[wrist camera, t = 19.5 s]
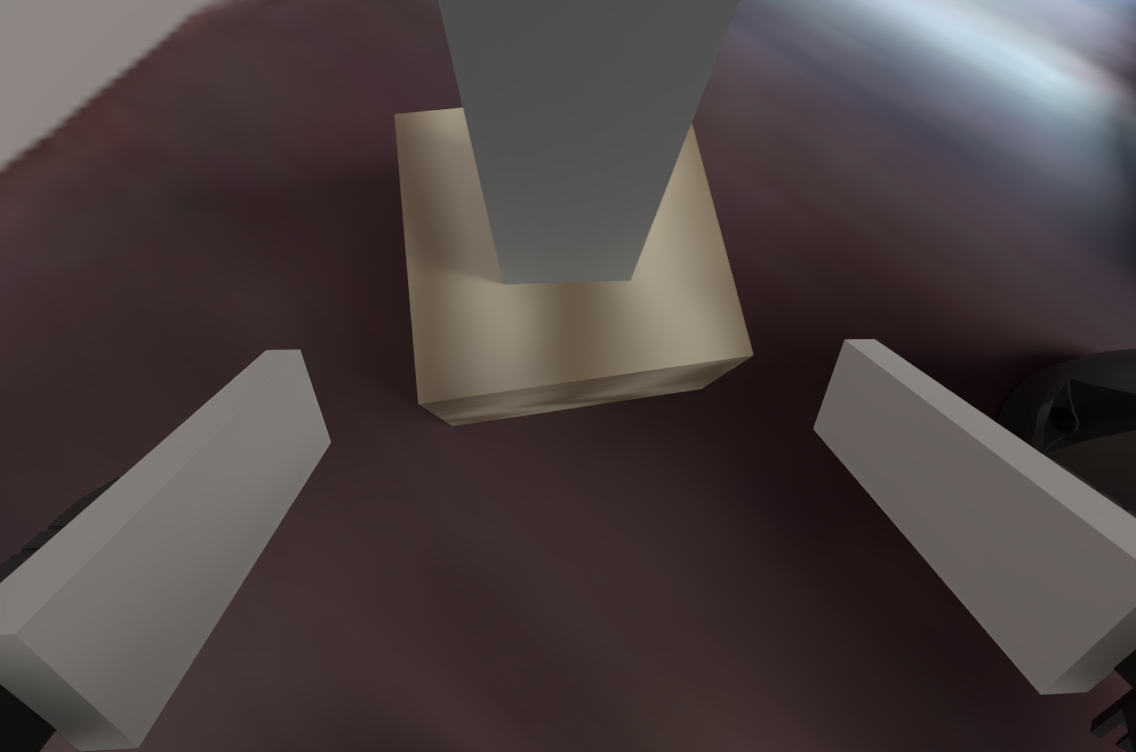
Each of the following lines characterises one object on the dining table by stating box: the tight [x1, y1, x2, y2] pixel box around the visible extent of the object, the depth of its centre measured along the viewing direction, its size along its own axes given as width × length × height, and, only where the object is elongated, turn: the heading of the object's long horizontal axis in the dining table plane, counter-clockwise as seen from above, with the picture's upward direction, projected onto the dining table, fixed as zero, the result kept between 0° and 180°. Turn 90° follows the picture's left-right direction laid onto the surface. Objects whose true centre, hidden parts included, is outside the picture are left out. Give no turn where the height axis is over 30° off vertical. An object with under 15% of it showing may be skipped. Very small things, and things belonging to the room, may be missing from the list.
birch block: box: [394, 108, 753, 426], centre depth 23 cm, size 14×14×7 cm
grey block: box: [438, 0, 739, 284], centre depth 14 cm, size 6×6×12 cm
